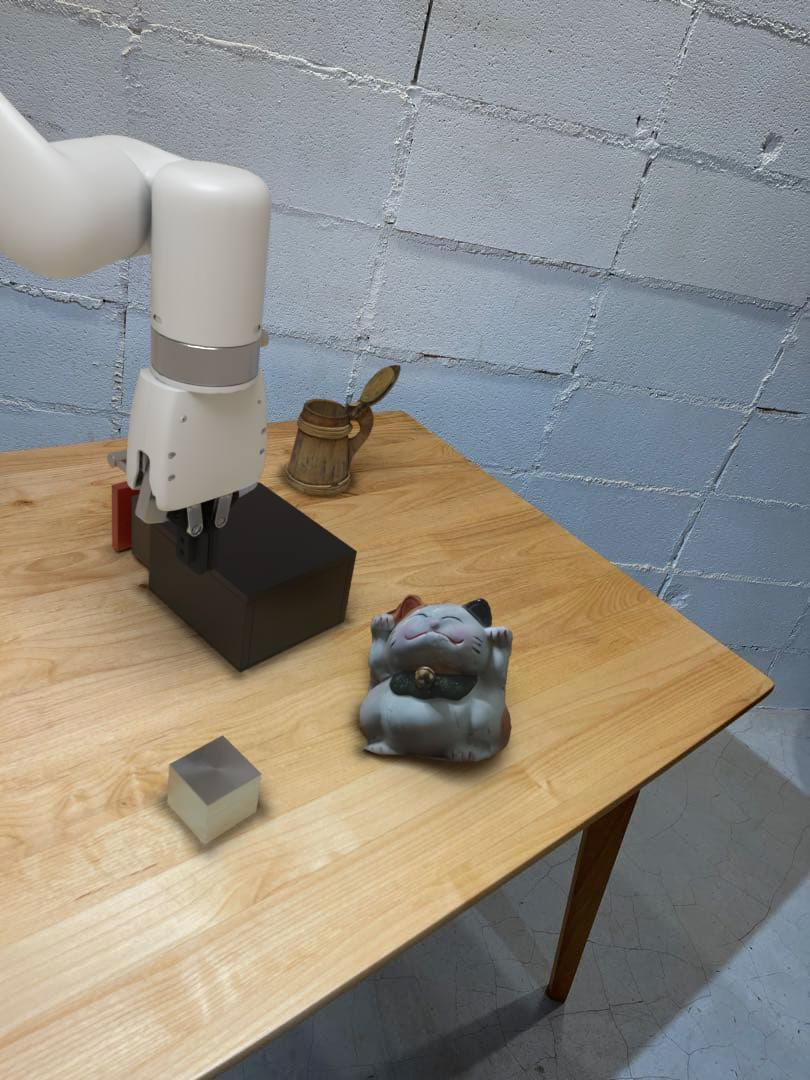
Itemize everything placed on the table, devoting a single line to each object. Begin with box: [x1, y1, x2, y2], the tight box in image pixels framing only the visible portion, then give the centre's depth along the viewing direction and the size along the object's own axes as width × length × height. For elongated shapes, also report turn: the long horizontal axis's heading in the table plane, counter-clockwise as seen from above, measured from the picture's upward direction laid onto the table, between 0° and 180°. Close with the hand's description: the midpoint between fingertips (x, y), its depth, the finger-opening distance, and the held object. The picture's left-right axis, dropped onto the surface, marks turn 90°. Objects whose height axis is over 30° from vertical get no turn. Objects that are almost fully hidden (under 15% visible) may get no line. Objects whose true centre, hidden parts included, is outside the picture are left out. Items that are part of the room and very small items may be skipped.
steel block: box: [166, 734, 262, 845], centre depth 64 cm, size 5×5×5 cm
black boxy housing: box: [148, 481, 358, 674], centre depth 84 cm, size 16×14×10 cm
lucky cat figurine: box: [358, 593, 514, 763], centre depth 75 cm, size 15×12×14 cm
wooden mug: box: [283, 364, 402, 496], centre depth 109 cm, size 9×14×18 cm, turn 103°
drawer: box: [106, 448, 150, 569], centre depth 90 cm, size 20×13×8 cm, turn 47°
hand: (196, 564), depth 68 cm, fingers closed
